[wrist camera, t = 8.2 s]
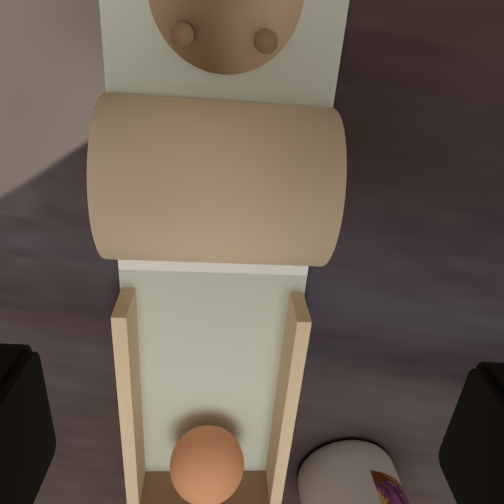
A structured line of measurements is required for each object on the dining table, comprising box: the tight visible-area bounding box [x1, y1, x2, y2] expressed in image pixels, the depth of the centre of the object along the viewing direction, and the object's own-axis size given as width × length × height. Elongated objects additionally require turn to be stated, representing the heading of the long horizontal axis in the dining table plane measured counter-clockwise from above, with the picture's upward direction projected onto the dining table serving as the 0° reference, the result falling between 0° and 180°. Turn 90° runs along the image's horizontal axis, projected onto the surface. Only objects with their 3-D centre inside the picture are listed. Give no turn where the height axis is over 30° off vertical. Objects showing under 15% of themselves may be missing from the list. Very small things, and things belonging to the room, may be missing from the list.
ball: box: [170, 425, 244, 504], centre depth 30 cm, size 5×5×5 cm
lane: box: [87, 0, 349, 504], centre depth 26 cm, size 11×36×8 cm, turn 176°
